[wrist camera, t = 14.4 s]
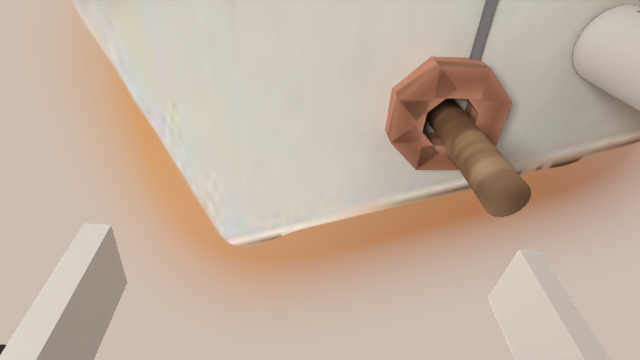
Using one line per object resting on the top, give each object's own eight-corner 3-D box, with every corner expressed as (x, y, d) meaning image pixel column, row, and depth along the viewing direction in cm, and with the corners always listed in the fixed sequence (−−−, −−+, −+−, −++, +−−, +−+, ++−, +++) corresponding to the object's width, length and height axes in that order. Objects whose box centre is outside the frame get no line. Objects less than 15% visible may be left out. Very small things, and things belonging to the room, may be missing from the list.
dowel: (428, 94, 42) (493, 180, 29) (460, 95, 42) (538, 180, 29) (421, 124, 44) (479, 216, 31) (451, 124, 44) (521, 216, 31)
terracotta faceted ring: (398, 55, 39) (405, 65, 37) (510, 59, 40) (524, 69, 38) (380, 155, 46) (385, 169, 44) (476, 156, 47) (486, 170, 45)
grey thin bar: (501, -55, 34) (504, -54, 33) (510, -54, 34) (513, -54, 34) (469, 58, 40) (471, 59, 39) (477, 58, 40) (479, 60, 39)
